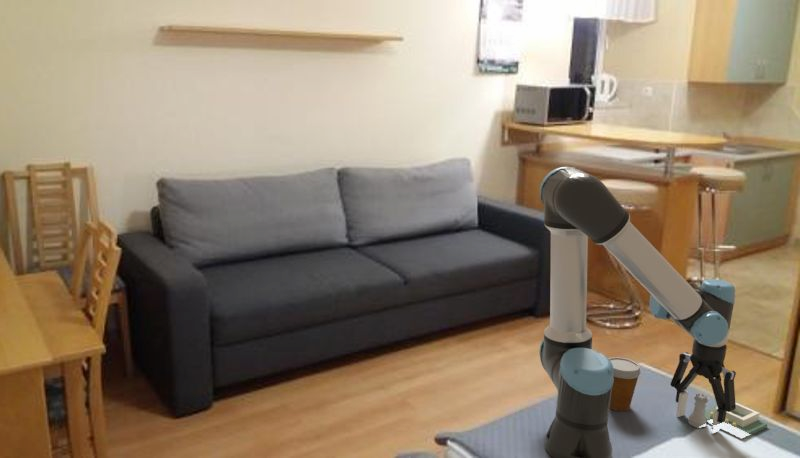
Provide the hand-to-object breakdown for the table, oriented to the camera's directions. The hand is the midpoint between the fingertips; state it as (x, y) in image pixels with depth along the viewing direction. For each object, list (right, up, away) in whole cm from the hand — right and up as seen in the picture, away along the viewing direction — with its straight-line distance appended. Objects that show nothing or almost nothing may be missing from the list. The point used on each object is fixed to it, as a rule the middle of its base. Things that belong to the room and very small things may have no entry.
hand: (697, 423), depth 166 cm
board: (+10, 0, +2) cm, 10 cm away
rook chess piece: (0, 0, 0) cm, 0 cm away
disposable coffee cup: (-18, +2, +8) cm, 20 cm away
